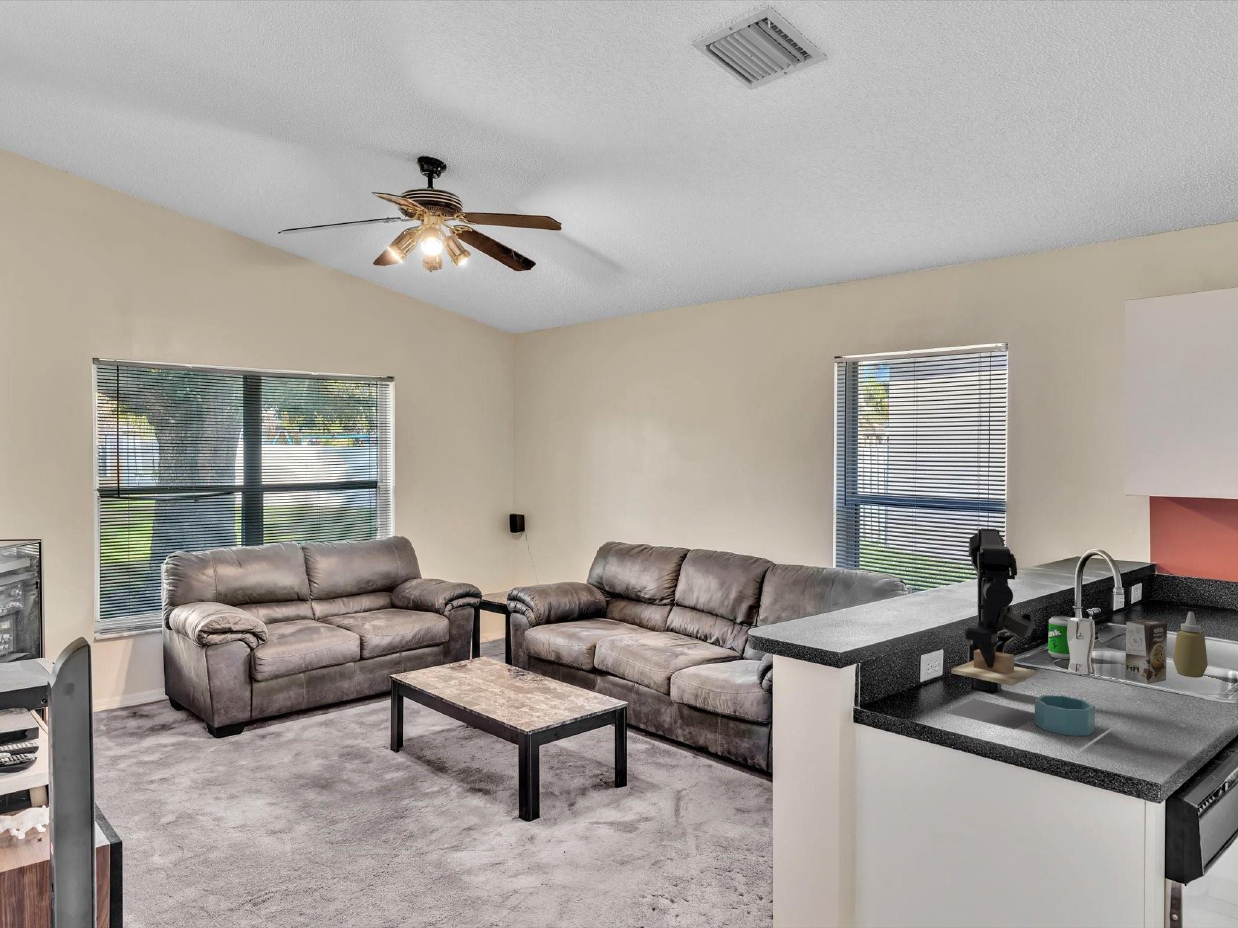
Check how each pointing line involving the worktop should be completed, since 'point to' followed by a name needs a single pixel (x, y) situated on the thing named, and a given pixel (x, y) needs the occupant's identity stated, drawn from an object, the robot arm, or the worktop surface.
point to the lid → (994, 669)
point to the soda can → (1058, 637)
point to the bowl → (1065, 715)
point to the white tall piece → (1080, 644)
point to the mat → (993, 713)
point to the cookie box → (1146, 651)
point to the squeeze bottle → (1190, 649)
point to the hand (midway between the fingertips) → (993, 666)
